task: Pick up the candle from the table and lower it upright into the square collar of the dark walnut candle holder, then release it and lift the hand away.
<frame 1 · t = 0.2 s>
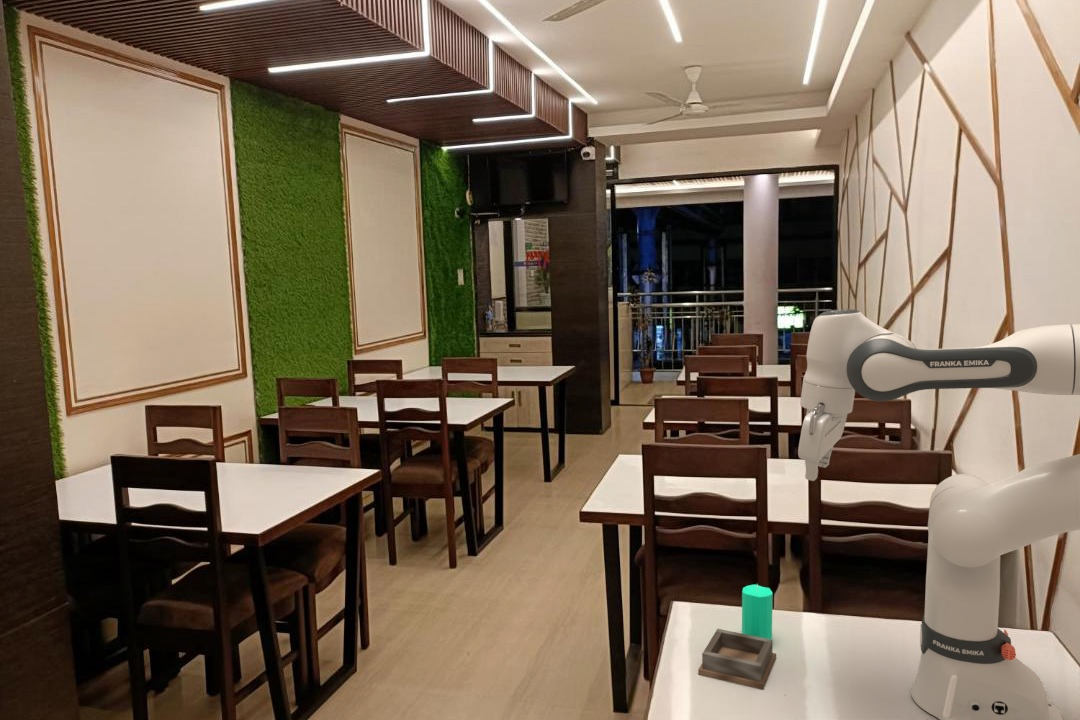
hand: (817, 472, 140), 39 cm above the table, tool pointing down, fingers open, 8 cm apart
holder: (737, 666, 148), on the table
candle: (756, 640, 158), on the table
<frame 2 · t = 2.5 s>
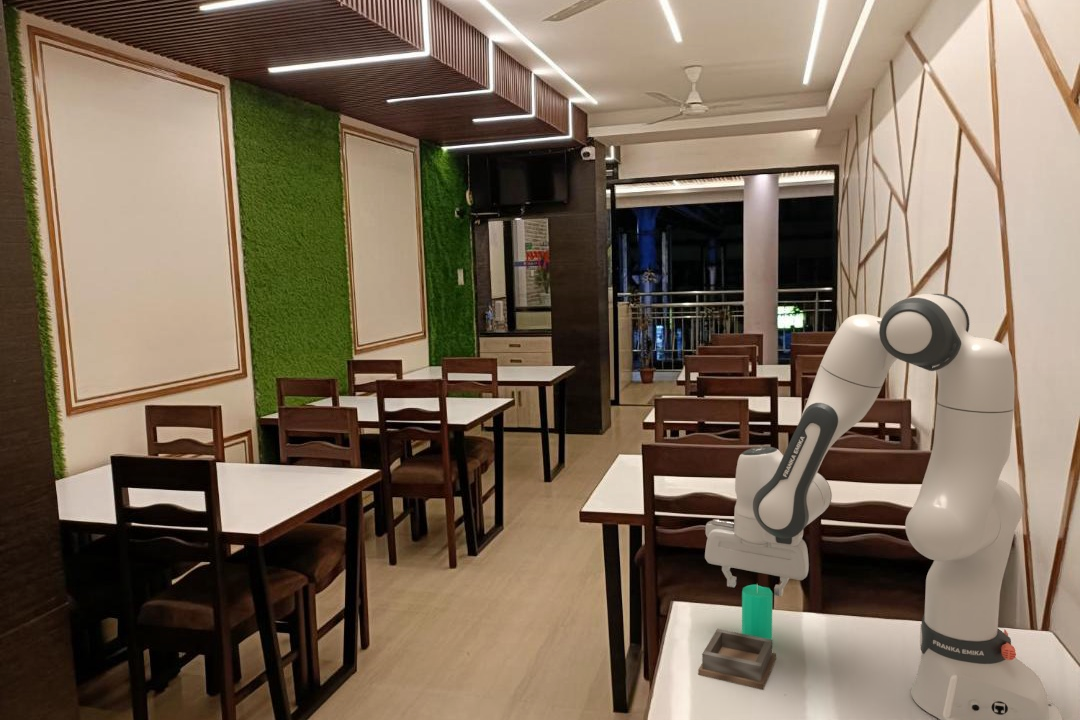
hand: (754, 590, 157), 10 cm above the table, tool pointing down, fingers open, 8 cm apart
nothing on the table moved.
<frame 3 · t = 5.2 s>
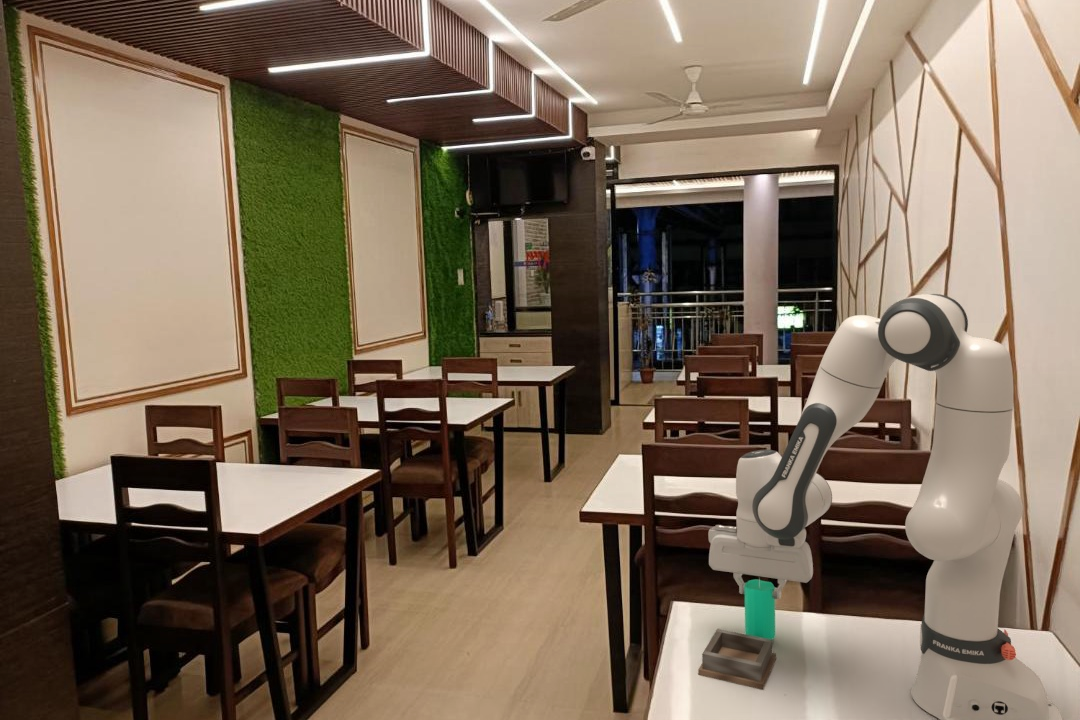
hand: (760, 595, 156), 10 cm above the table, tool pointing down, fingers closed on candle, 5 cm apart
candle: (760, 635, 157), point 1 cm above the table, touching gripper
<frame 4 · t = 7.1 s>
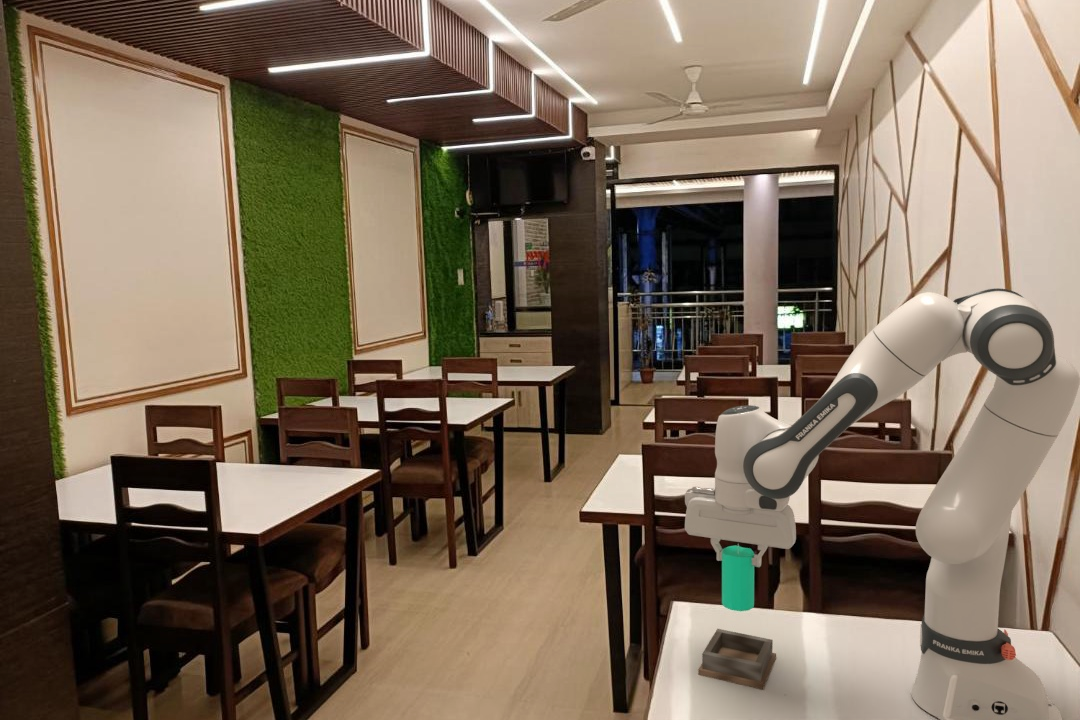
hand: (738, 562, 145), 21 cm above the table, tool pointing down, fingers closed on candle, 5 cm apart
candle: (737, 605, 146), point 12 cm above the table, touching gripper
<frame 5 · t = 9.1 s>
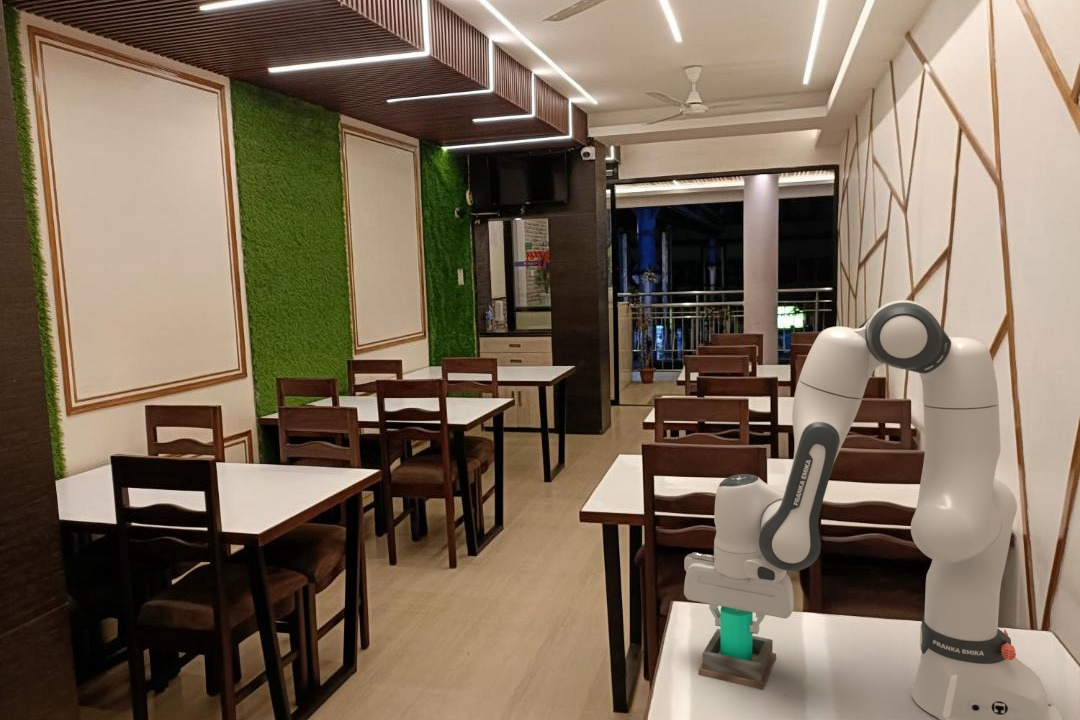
hand: (737, 628, 147), 8 cm above the table, tool pointing down, fingers closed on candle, 5 cm apart
candle: (736, 661, 148), point 1 cm above the table, touching gripper, holder
when the fingers open (7 cm above the table, at t = 10.0 s): candle stays where it is, resting on holder.
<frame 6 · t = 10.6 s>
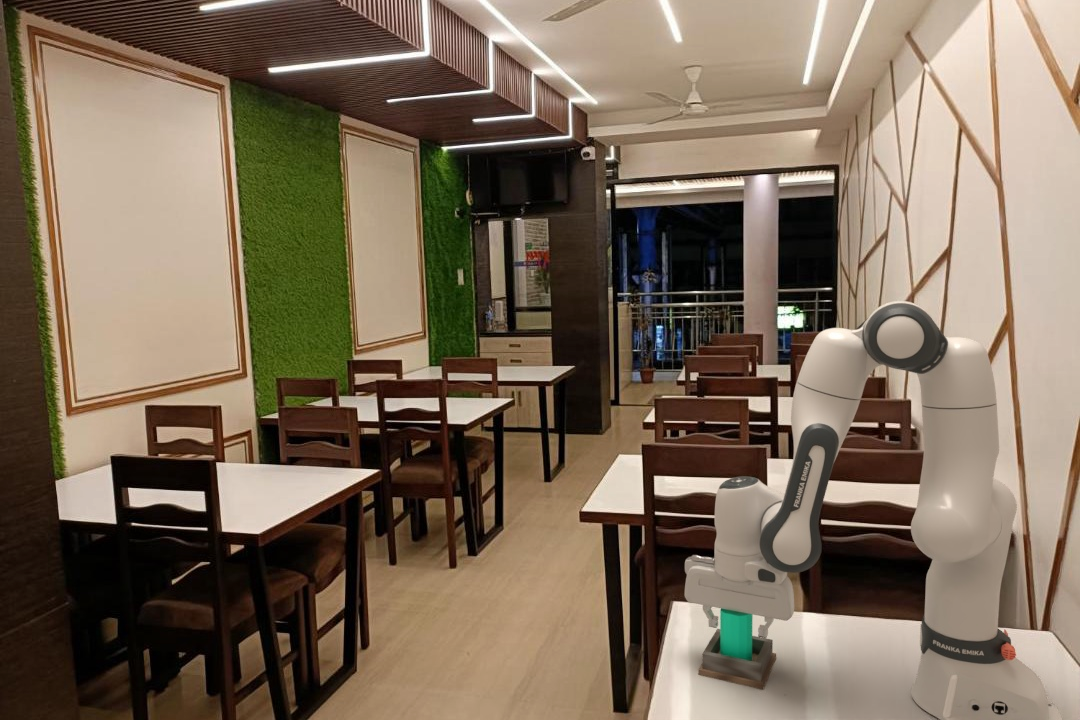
hand: (737, 631, 147), 7 cm above the table, tool pointing down, fingers open, 8 cm apart
candle: (736, 661, 148), point 1 cm above the table, touching holder
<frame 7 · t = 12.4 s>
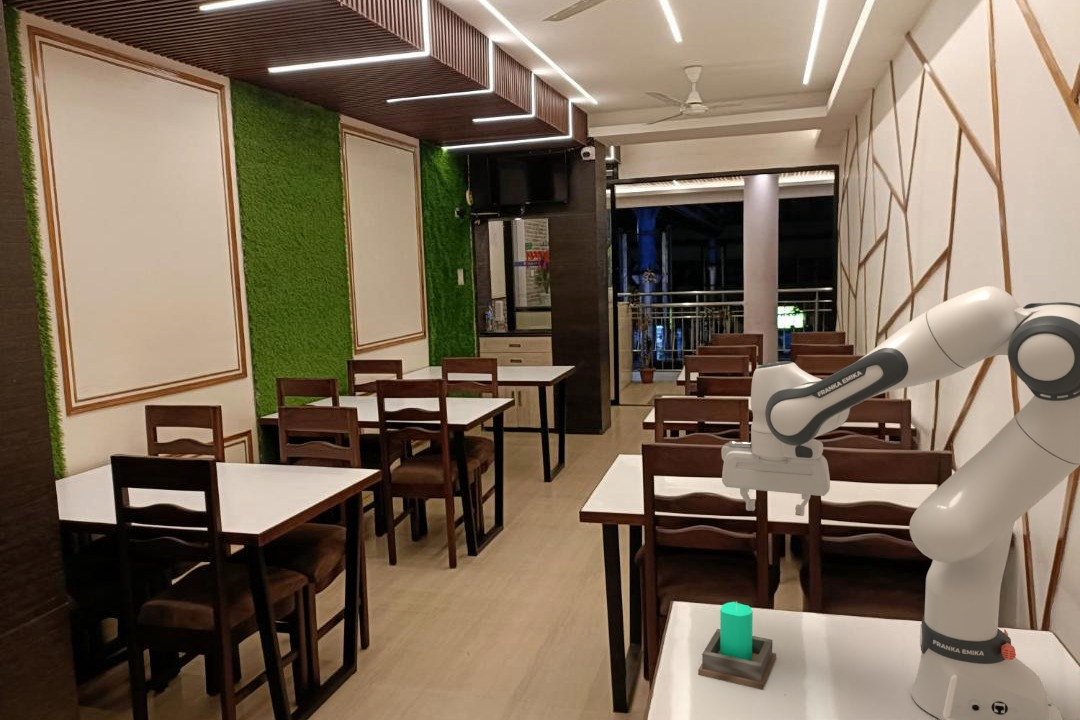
hand: (774, 512, 152), 28 cm above the table, tool pointing down, fingers open, 8 cm apart
nothing on the table moved.
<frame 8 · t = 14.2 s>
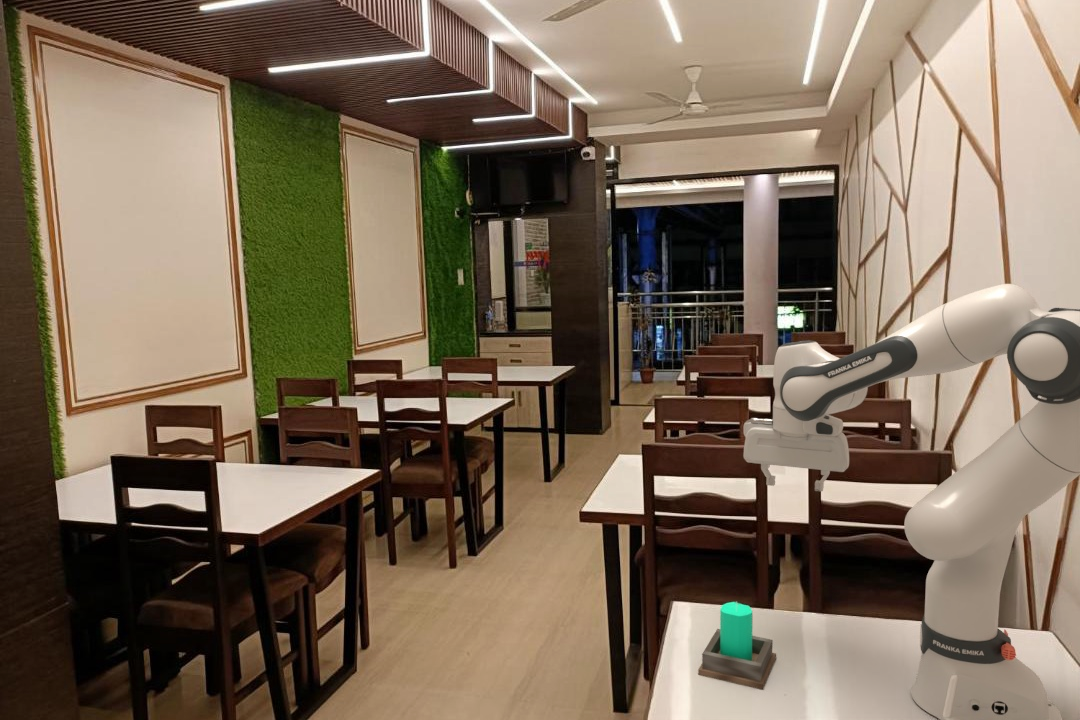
hand: (794, 487, 156), 31 cm above the table, tool pointing down, fingers open, 8 cm apart
nothing on the table moved.
at the end: candle 0.4 cm off-centre on the holder, point 0.8 cm above the holder's base; candle tilted 0°; the gripper is holding nothing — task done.
